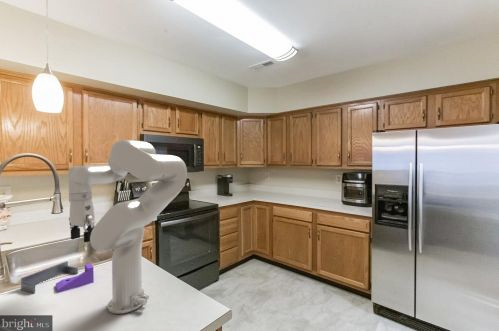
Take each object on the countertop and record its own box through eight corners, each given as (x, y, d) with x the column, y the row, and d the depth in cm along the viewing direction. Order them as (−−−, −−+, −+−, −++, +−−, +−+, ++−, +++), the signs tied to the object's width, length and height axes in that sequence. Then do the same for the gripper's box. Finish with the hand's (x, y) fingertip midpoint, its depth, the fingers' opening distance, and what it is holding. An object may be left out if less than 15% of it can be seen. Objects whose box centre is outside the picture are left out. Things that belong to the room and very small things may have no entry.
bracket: (90, 277, 107) (90, 262, 107) (93, 283, 102) (93, 267, 102) (55, 287, 98) (55, 270, 98) (57, 293, 93) (57, 276, 93)
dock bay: (77, 274, 109) (77, 263, 109) (33, 293, 93) (33, 281, 93) (66, 272, 111) (66, 261, 111) (21, 290, 95) (20, 278, 95)
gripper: (102, 196, 95) (104, 239, 95) (79, 195, 103) (80, 235, 103) (81, 199, 88) (83, 245, 88) (59, 197, 96) (60, 240, 96)
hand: (82, 239), depth 96 cm, fingers open, 9 cm apart
